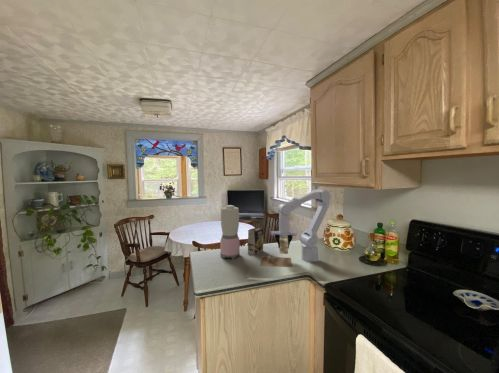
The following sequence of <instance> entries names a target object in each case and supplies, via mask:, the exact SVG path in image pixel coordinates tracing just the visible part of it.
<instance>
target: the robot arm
mask: <svg viewBox="0 0 499 373" xmlns="http://www.w3.org/2000/svg"><path fill="white" fill-rule="evenodd" d="M331 198H332V195H331V193H330V192H329V190H327V189H320V188H316V189H313V190H311V191H310V192H307V193H306V194H304V195H302V196H300V197H299V198H297V197H292V198H291V200H289V201H285V202H284V203H281V204H279V205H278V207H277V212H278V230H274V231H273V230H271V231H270V235H271V236H275V240H276V242H277V245H278V249H279V248H280V238H281V236H284V237H287V240H288V250H289V249H290V244H291V242H292V240H293V237H297V236H298V233H297V231H290V214H291V213H292V211H294V210H297V209H299V208H301V206H302V204H304V203H306V202H309V201H311V200H315V201H316V204H317V205H318V206H317V209H316V211H315V213H314V214H313V217H312V219H311V222H310V223H309V226H308V228H307V229H305V230H304V231H303V232H302V234H300V236H299V241H300V242H301V260H302V261H304V262H319V248H318V246H316V245H317V243H318V242H317V241H318V238H319V237H318V231H319V229H320V227H321V224H322V223H323V220H324V217H325V216H326V214H327V212H328V209H329V207H330V200H331Z"/></svg>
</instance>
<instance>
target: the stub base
mask: <svg viewBox="0 0 499 373" xmlns="http://www.w3.org/2000/svg"><path fill="white" fill-rule="evenodd" d="M291 258H292V257H285V256H284V257H282V256H281V257H280V256H279V257H278V256H272V255H267V256H260V262H259V263H260V264H259V266H262V267H279V268H284V267H285V268H293V263H292V259H291Z"/></svg>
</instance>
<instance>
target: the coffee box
mask: <svg viewBox="0 0 499 373" xmlns="http://www.w3.org/2000/svg"><path fill="white" fill-rule="evenodd" d="M247 232H248V233H247V254H248V255H250V256H252V255H255V256H256V255H259V254H260V253H262V252H264V228H262V227H254V228H249V229H248V230H247Z"/></svg>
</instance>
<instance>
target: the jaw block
mask: <svg viewBox="0 0 499 373" xmlns="http://www.w3.org/2000/svg"><path fill="white" fill-rule="evenodd" d="M278 249H279V250H278V251H279V254H285V255H288V254H289V249H288V238H282V237H280V248H278Z"/></svg>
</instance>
